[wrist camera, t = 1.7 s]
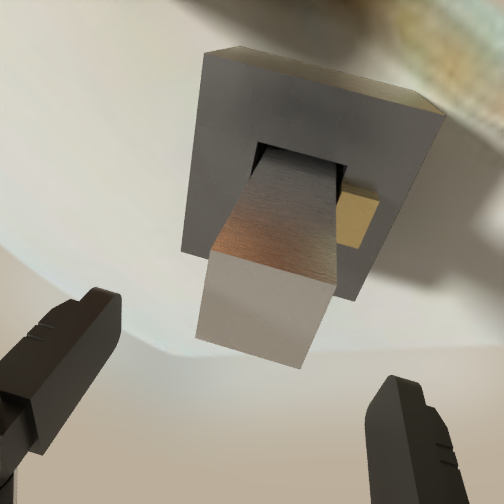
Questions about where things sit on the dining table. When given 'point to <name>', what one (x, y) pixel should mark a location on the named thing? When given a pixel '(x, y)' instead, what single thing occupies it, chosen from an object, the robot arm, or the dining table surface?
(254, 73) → the base
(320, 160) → the column
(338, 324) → the dining table surface
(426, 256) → the dining table surface
